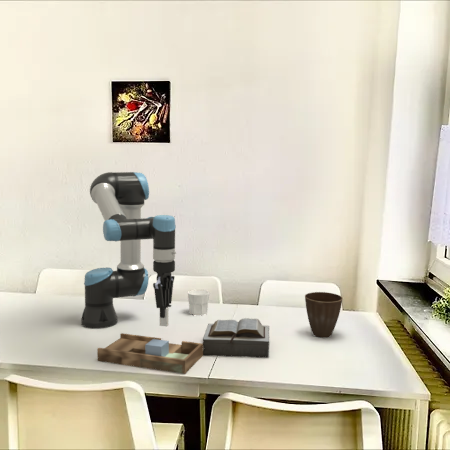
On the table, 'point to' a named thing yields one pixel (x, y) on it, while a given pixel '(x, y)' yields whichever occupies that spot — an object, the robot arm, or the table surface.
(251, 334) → the bible
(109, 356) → the wooden tray
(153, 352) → the block
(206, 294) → the cup
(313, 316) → the plant pot
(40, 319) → the table surface
